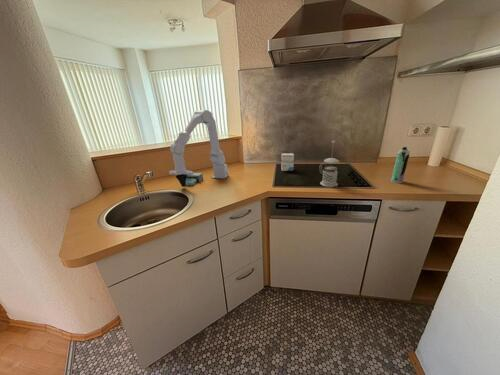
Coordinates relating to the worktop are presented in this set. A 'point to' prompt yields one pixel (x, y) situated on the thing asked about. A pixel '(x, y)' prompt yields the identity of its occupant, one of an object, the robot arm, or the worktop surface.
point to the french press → (331, 179)
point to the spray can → (400, 165)
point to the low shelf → (196, 176)
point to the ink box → (287, 162)
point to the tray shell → (190, 182)
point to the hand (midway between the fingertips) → (183, 186)
